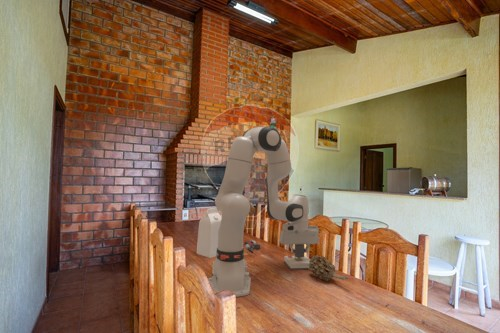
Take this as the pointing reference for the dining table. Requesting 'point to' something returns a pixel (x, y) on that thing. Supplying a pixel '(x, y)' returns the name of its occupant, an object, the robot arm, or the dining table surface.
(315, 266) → the pine cone
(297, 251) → the plug
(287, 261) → the socket
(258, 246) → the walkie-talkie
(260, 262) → the dining table surface
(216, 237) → the milk
